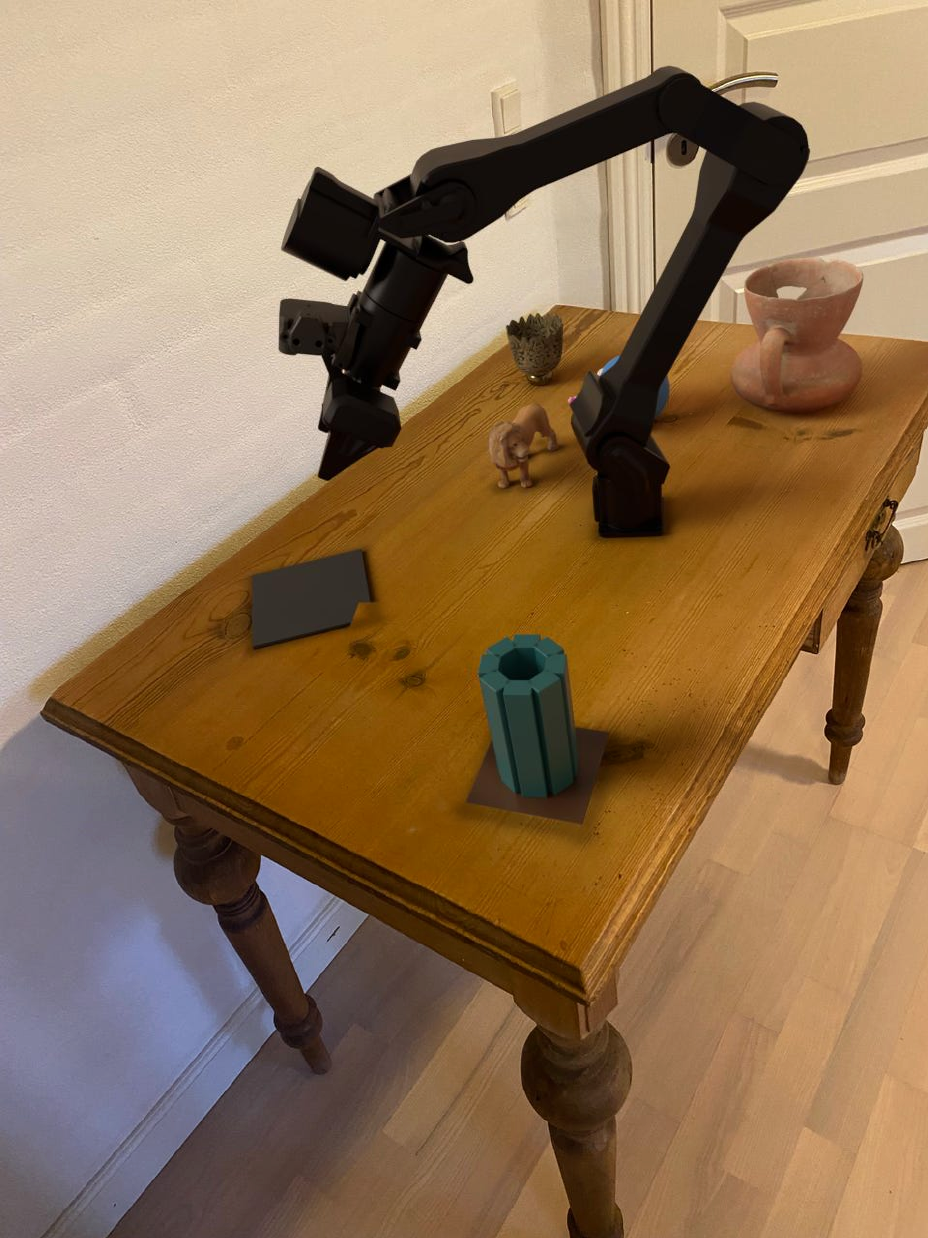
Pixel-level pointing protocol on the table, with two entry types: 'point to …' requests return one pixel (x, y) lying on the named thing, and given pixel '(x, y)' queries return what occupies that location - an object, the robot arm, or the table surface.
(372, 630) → the table surface
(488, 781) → the peg stand
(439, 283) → the robot arm
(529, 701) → the sleeve
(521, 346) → the cup
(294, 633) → the mat
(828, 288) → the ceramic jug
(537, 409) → the lion figurine
